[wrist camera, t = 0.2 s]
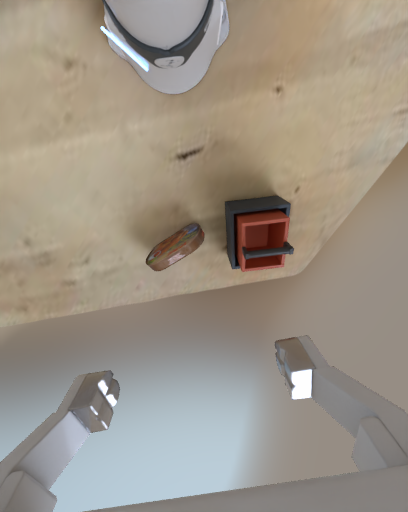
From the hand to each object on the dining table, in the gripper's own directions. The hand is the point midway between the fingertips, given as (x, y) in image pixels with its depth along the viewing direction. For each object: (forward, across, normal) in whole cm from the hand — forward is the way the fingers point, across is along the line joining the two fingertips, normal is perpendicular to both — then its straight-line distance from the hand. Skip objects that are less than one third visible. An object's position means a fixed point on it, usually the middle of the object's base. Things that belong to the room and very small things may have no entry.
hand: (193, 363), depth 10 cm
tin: (+40, +6, +6) cm, 41 cm away
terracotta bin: (+39, -12, +7) cm, 41 cm away
